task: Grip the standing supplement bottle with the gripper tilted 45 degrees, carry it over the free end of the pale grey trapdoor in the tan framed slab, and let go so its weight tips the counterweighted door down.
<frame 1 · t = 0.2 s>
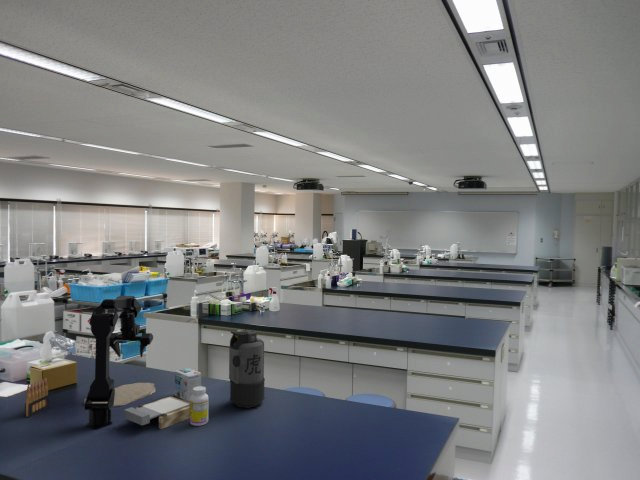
hand: (130, 356, 208), 15 cm above the table, tool pointing down, fingers open, 9 cm apart
kanji thermos flask: (247, 403, 197), on the table
tan framed slab: (166, 416, 182), on the table
light bulb box: (187, 397, 204), on the table
ammunition clip: (37, 412, 185), on the table
stone tablet: (124, 398, 203), on the table
trapdoor: (157, 409, 179), point 4 cm above the table, hinge at 0.0°
supplement bottle: (199, 423, 177), on the table
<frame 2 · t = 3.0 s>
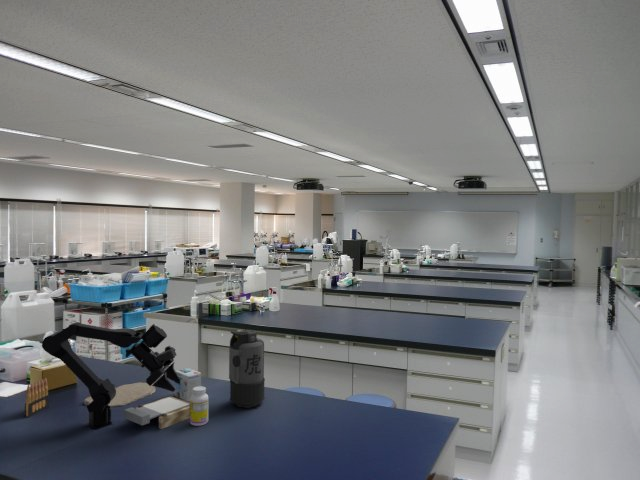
hand: (177, 386, 176), 14 cm above the table, tool tilted 45°, fingers open, 9 cm apart
nothing on the table moved.
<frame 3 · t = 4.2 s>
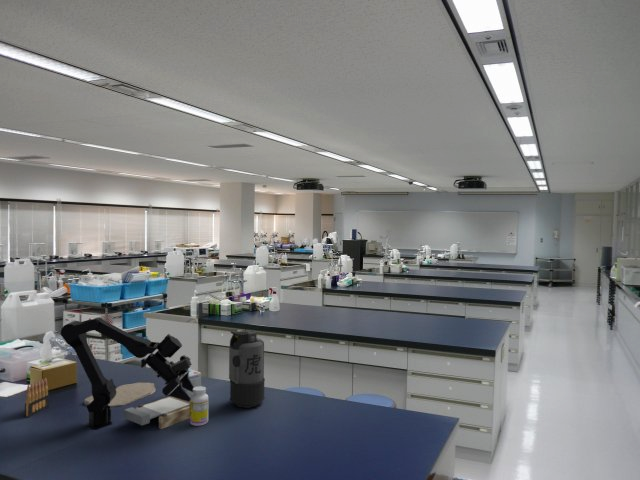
hand: (192, 395, 177), 10 cm above the table, tool tilted 45°, fingers open, 9 cm apart
nothing on the table moved.
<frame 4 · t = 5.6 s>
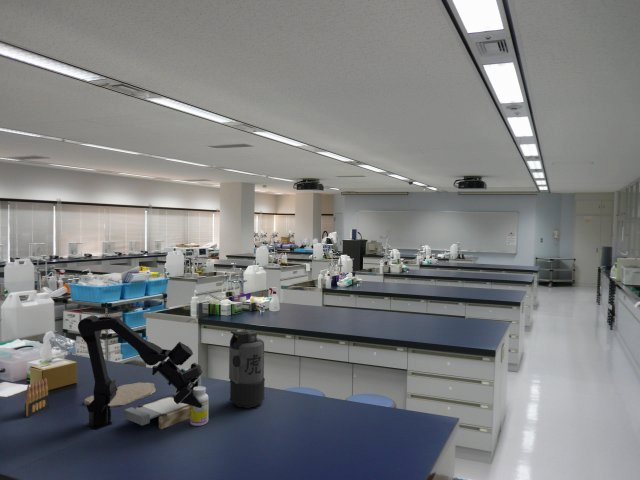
hand: (203, 403, 177), 7 cm above the table, tool tilted 45°, fingers closed on supplement bottle, 7 cm apart
supplement bottle: (199, 423, 177), on the table, touching gripper
everything else where it was.
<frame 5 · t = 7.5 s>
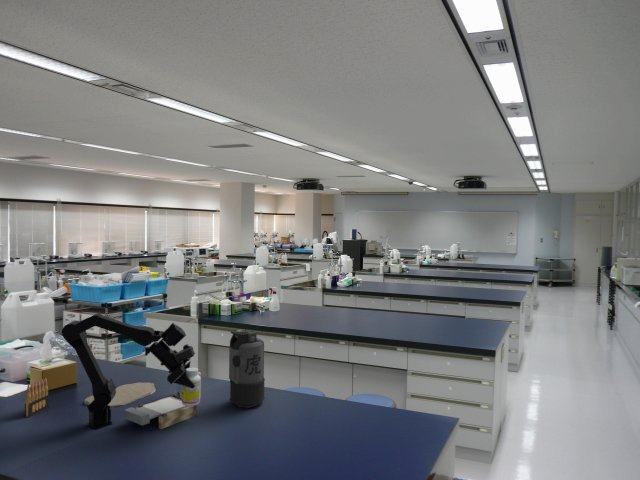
hand: (195, 384, 179), 13 cm above the table, tool tilted 45°, fingers closed on supplement bottle, 7 cm apart
supplement bottle: (190, 404, 179), point 6 cm above the table, touching gripper
everything else where it was.
when the fingers open (13 cm above the table, at t = 9.3 s): supplement bottle drops 3 cm, resting on trapdoor.
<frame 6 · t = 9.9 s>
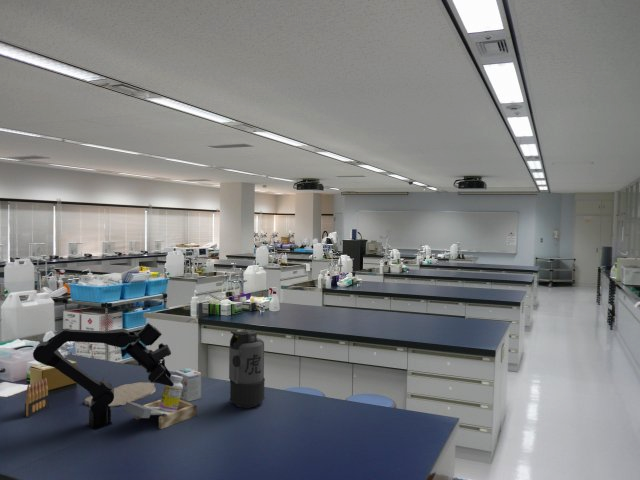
hand: (172, 381, 183), 13 cm above the table, tool tilted 45°, fingers open, 9 cm apart
trapdoor: (156, 410, 178), point 4 cm above the table, hinge at -19.1°, touching supplement bottle
supplement bottle: (167, 411, 182), point 2 cm above the table, touching trapdoor
everything else where it was.
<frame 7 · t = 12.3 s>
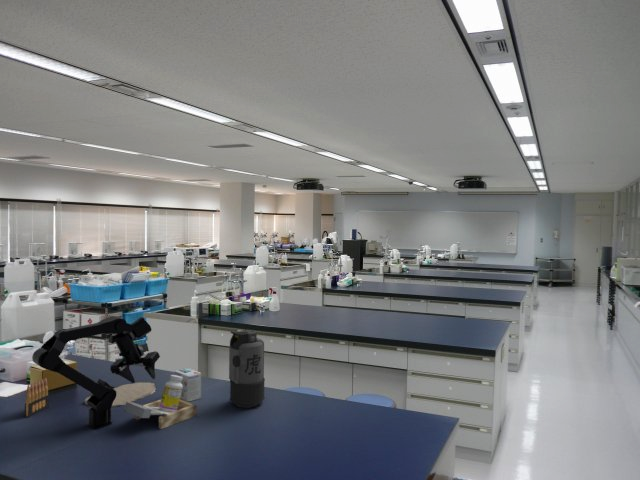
hand: (144, 380, 185), 13 cm above the table, tool tilted 25°, fingers open, 9 cm apart
nothing on the table moved.
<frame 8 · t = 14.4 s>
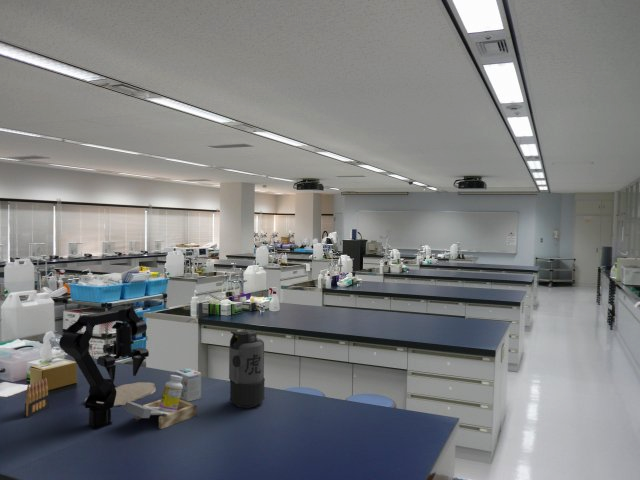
hand: (123, 378, 186), 13 cm above the table, tool pointing down, fingers open, 9 cm apart
nothing on the table moved.
at the end: trapdoor at -19° (first picture: +0°); supplement bottle point 2.1 cm above the table; the gripper is holding nothing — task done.
